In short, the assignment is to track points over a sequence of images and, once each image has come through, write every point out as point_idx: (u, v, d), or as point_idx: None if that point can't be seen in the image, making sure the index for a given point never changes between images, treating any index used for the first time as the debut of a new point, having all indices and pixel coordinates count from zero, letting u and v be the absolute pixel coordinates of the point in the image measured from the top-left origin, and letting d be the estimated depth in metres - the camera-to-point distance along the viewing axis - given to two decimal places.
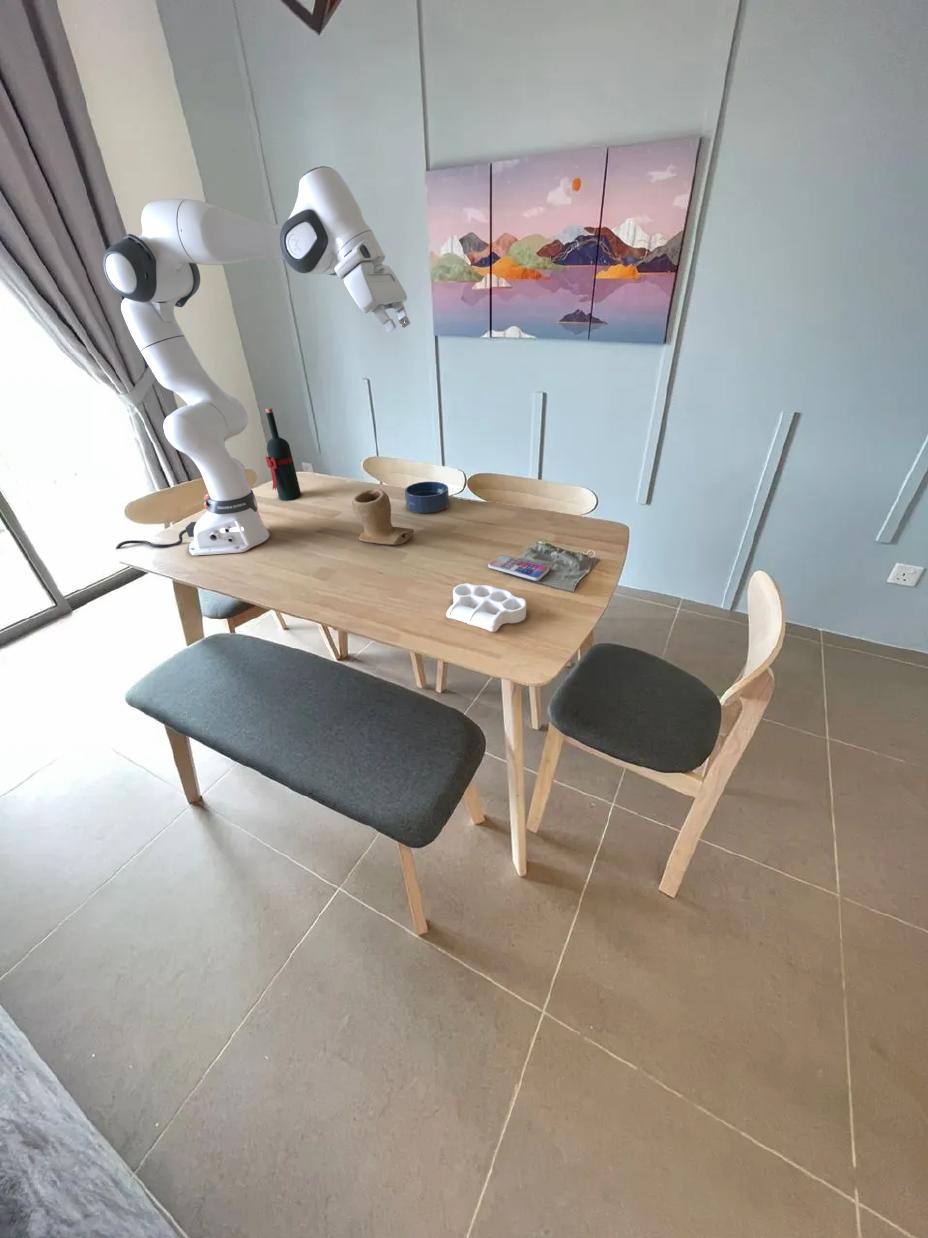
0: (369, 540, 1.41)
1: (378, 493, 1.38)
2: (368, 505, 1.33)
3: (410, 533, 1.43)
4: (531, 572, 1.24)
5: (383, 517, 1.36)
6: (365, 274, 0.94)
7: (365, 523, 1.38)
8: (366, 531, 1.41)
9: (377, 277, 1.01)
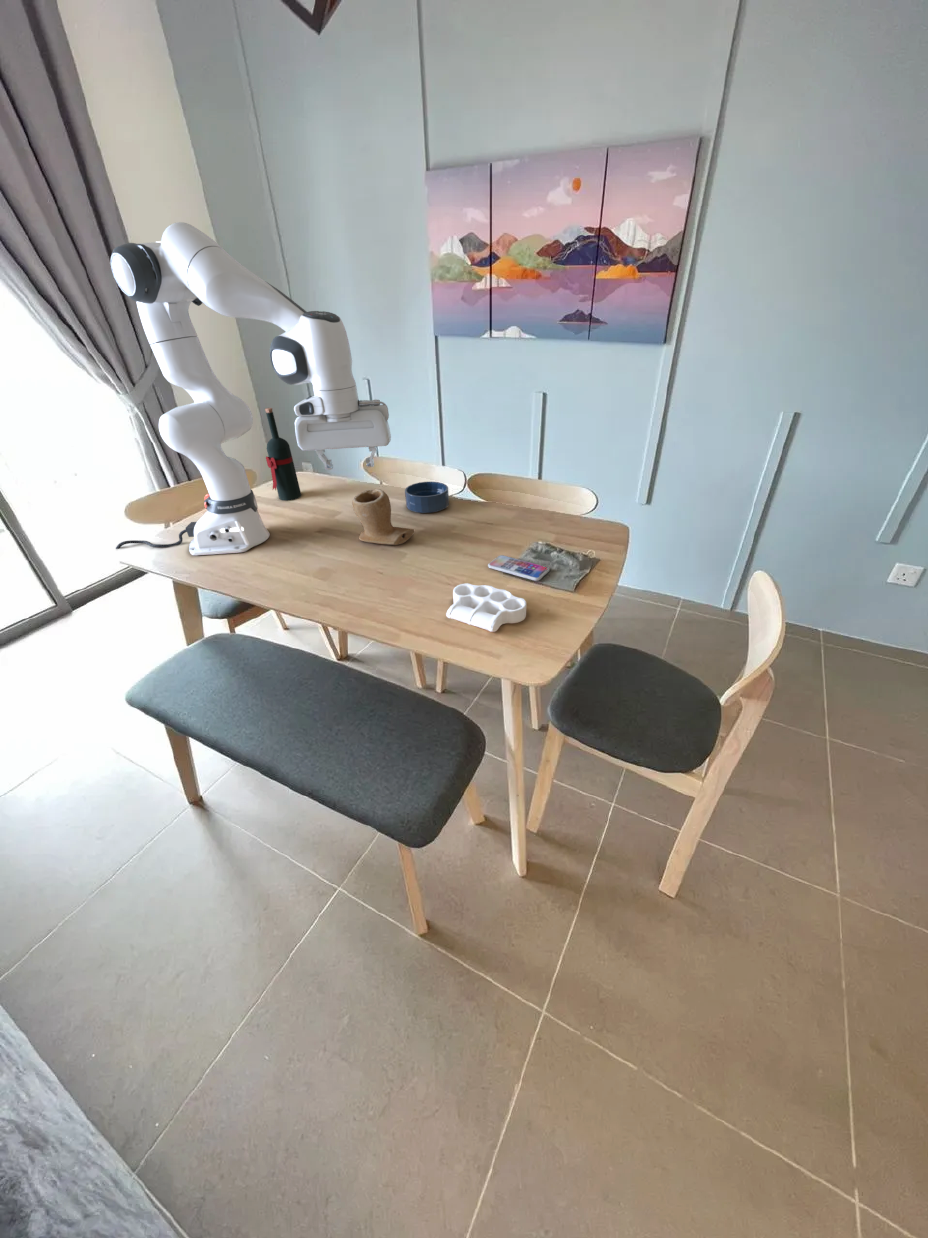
0: (369, 540, 1.41)
1: (378, 493, 1.38)
2: (368, 505, 1.33)
3: (410, 533, 1.43)
4: (531, 572, 1.24)
5: (383, 517, 1.36)
6: (296, 427, 1.04)
7: (365, 523, 1.38)
8: (366, 531, 1.41)
9: (332, 425, 1.04)
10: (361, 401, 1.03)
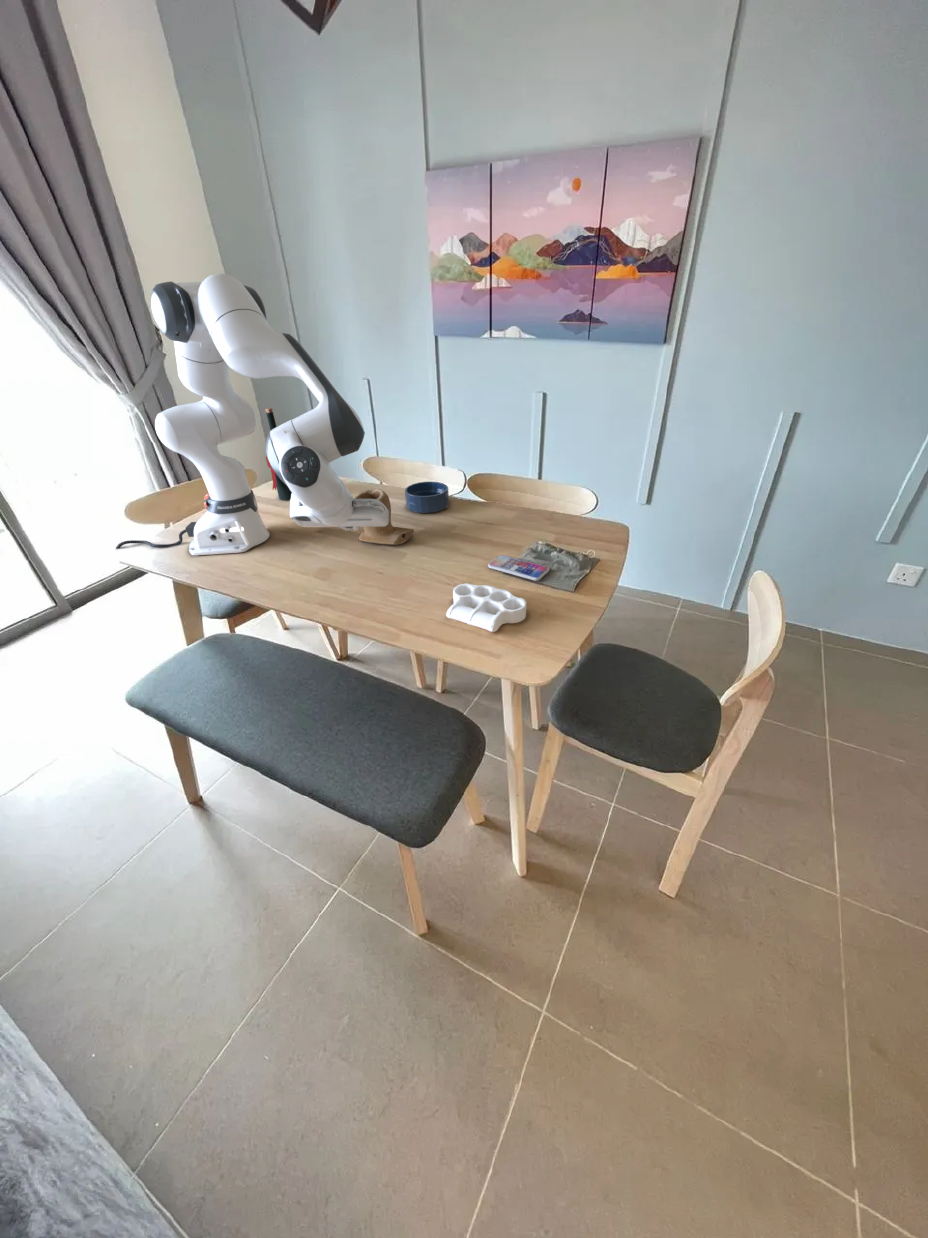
0: (369, 540, 1.41)
1: (378, 493, 1.38)
2: None
3: (410, 533, 1.43)
4: (531, 572, 1.24)
5: None
6: (295, 521, 1.05)
7: None
8: (366, 531, 1.41)
9: None
10: (355, 504, 1.00)
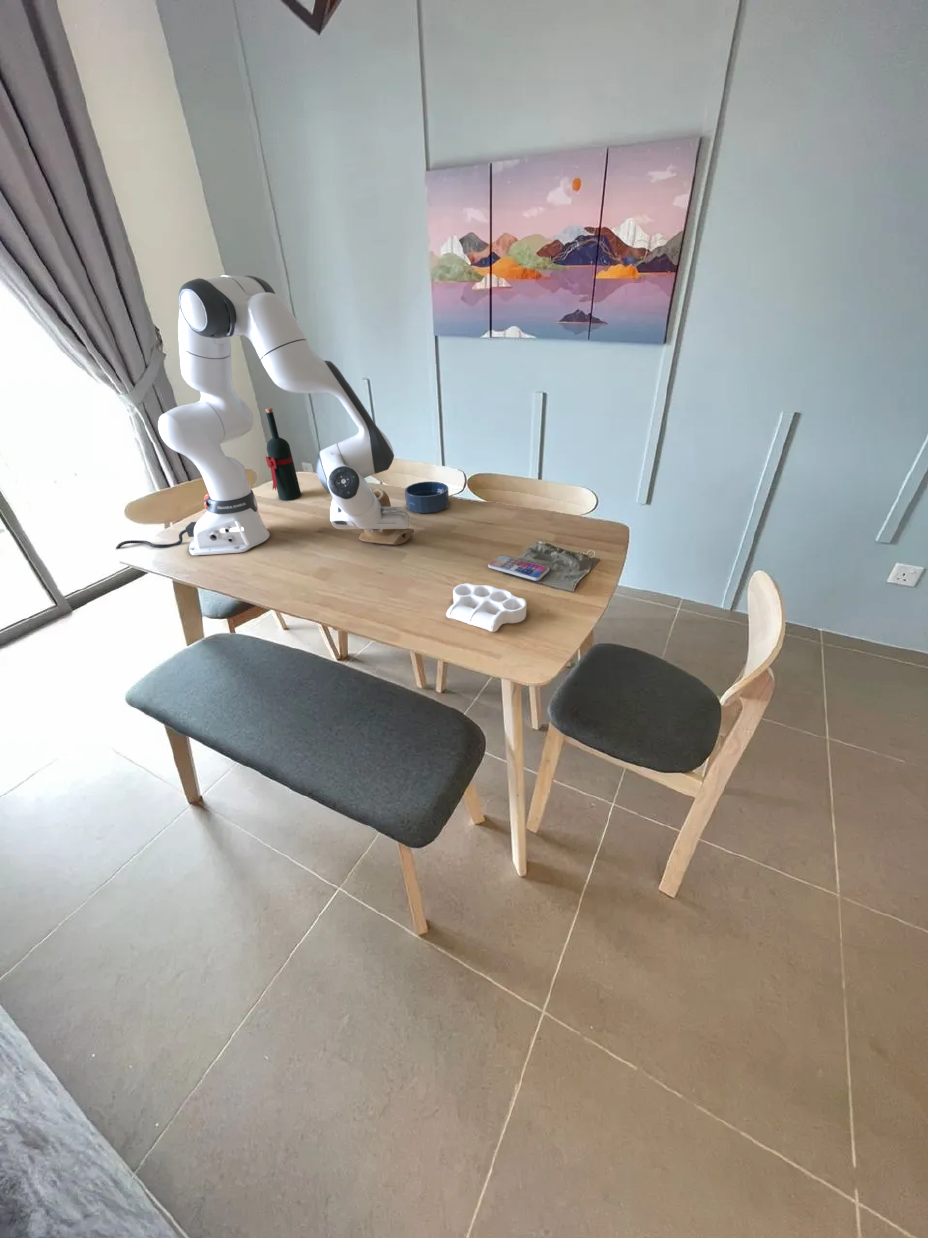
0: (369, 540, 1.41)
1: (378, 493, 1.38)
2: None
3: (410, 533, 1.43)
4: (531, 572, 1.24)
5: None
6: (333, 524, 1.28)
7: None
8: (366, 531, 1.41)
9: None
10: (383, 511, 1.23)
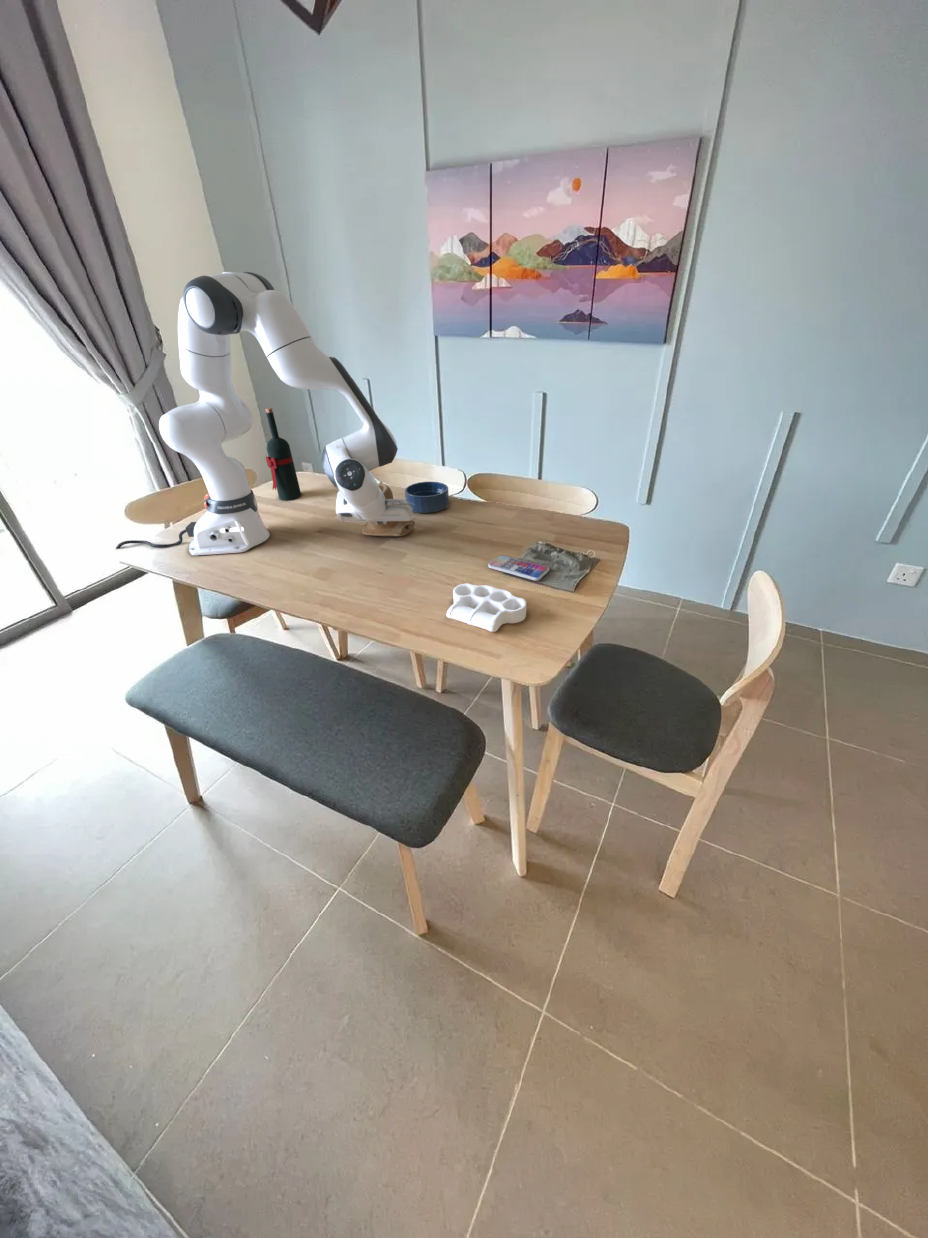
0: (373, 533, 1.45)
1: (380, 487, 1.42)
2: None
3: (412, 524, 1.48)
4: (531, 572, 1.24)
5: None
6: (339, 516, 1.32)
7: None
8: (370, 525, 1.45)
9: None
10: (388, 503, 1.27)
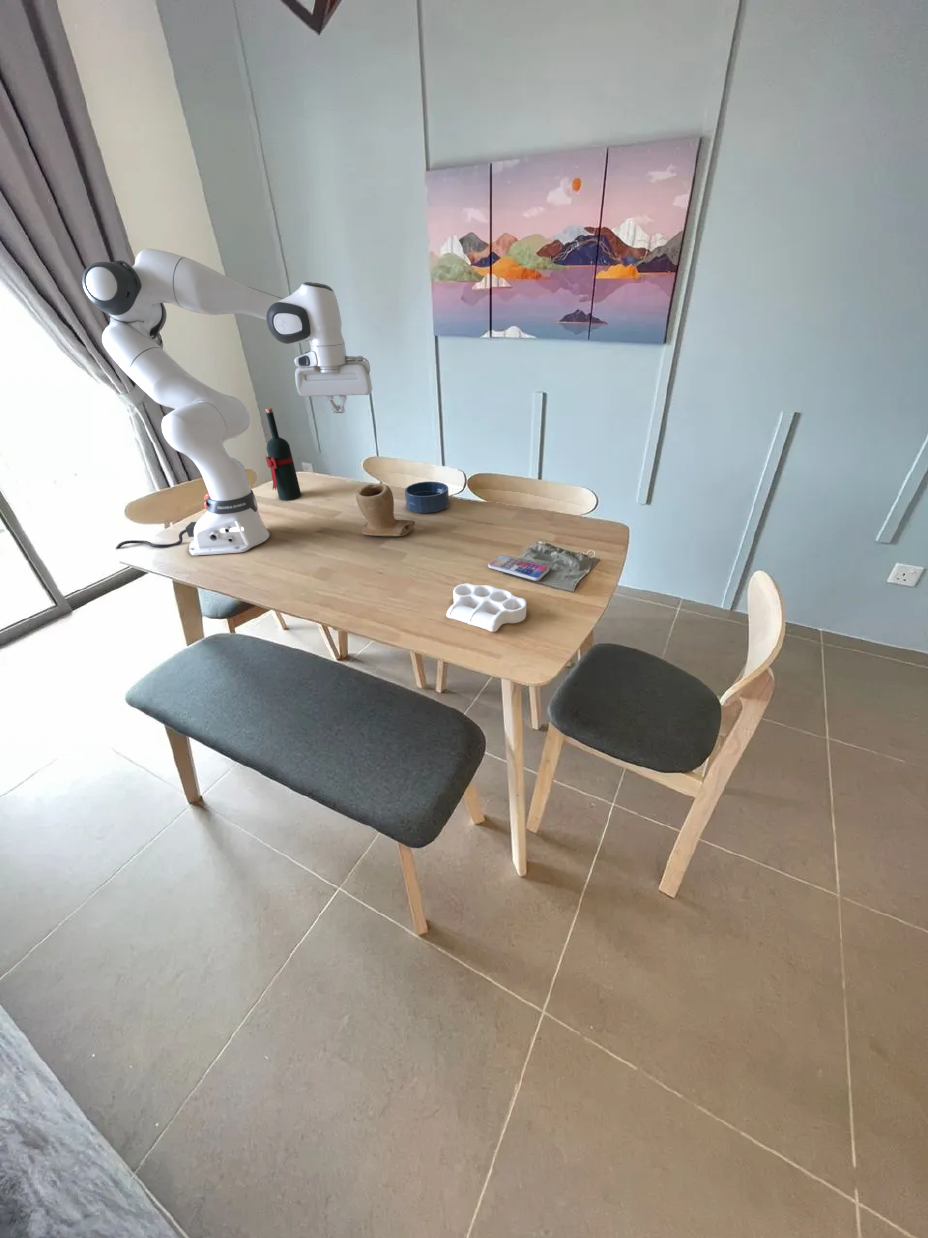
0: (373, 533, 1.45)
1: (380, 487, 1.42)
2: (374, 498, 1.36)
3: (412, 524, 1.48)
4: (531, 572, 1.24)
5: (388, 510, 1.40)
6: (296, 376, 1.30)
7: (370, 517, 1.41)
8: (370, 525, 1.45)
9: (325, 375, 1.30)
10: (348, 357, 1.29)
